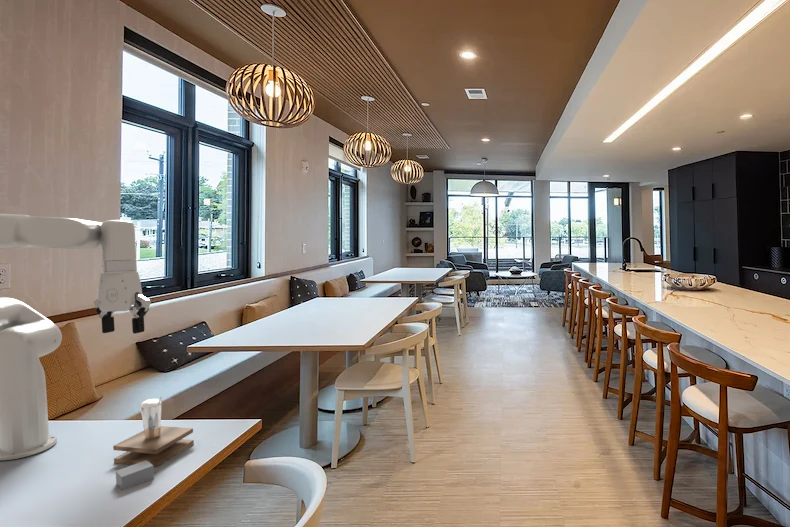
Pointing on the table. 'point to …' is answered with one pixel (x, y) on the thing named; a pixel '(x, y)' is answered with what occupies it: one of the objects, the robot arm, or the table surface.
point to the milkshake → (151, 417)
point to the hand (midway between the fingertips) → (123, 332)
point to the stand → (154, 446)
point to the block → (134, 474)
